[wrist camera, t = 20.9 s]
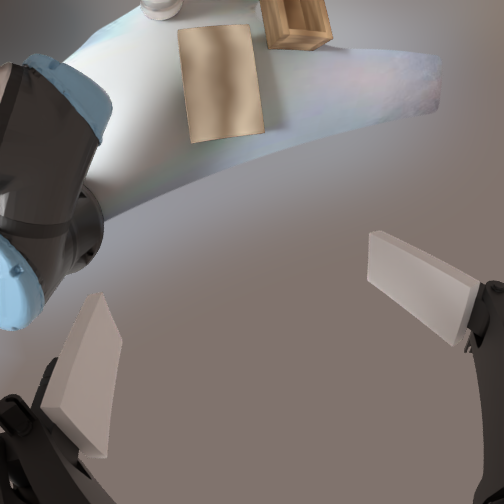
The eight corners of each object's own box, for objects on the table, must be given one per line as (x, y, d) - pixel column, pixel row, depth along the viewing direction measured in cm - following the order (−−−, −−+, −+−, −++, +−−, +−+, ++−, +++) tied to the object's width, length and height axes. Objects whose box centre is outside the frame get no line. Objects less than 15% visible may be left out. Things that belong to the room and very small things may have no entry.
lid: (191, 143, 36) (191, 143, 34) (177, 35, 29) (177, 29, 28) (260, 133, 38) (264, 132, 36) (245, 29, 31) (249, 24, 29)
